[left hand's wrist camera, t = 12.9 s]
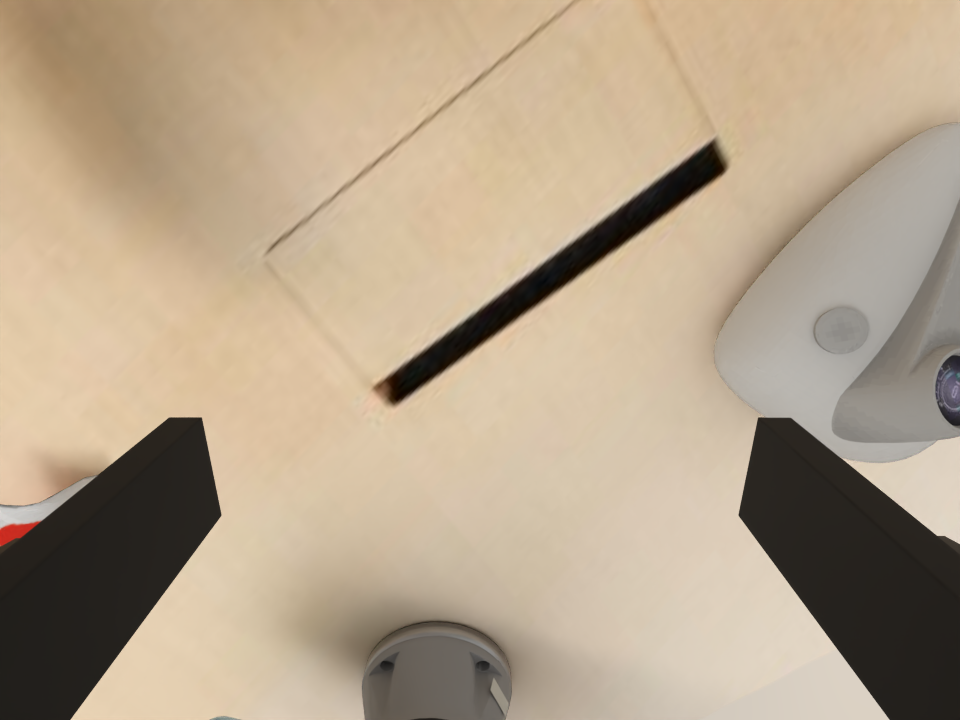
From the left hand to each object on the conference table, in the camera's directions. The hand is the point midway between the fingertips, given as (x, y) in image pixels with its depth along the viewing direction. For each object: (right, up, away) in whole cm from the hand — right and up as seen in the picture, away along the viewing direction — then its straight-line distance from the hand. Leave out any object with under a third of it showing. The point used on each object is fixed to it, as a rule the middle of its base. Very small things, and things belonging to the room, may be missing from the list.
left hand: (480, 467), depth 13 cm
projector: (+29, +9, +28) cm, 41 cm away
